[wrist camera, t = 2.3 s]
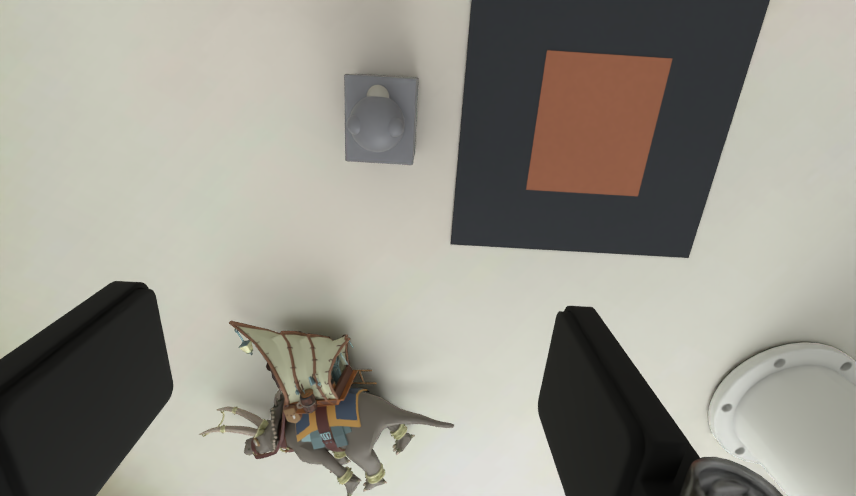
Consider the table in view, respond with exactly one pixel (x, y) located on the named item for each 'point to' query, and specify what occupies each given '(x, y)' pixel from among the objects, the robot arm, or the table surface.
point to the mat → (597, 121)
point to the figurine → (320, 407)
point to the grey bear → (380, 118)
